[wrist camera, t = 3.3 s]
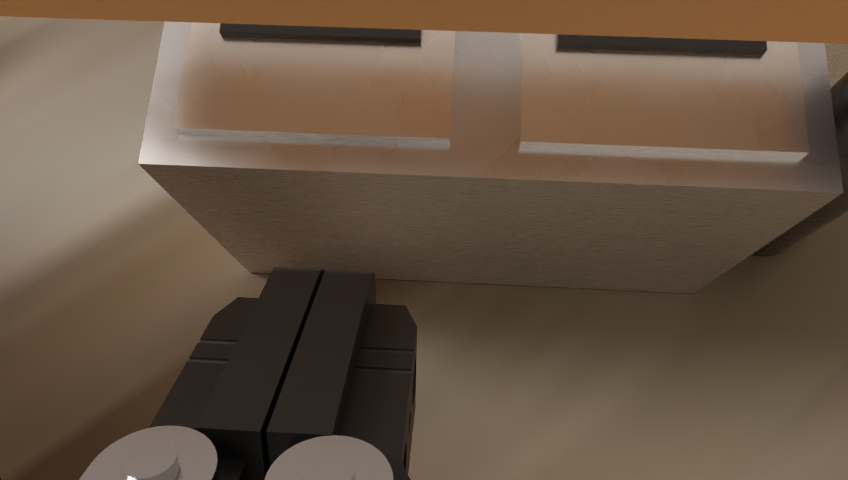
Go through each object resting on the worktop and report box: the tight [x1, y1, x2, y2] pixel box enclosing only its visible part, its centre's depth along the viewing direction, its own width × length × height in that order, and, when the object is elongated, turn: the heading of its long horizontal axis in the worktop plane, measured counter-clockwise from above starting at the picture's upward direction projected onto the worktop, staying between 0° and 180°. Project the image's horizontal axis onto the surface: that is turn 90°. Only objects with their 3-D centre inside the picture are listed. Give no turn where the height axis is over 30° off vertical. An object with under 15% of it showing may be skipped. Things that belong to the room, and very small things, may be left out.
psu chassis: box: [138, 21, 848, 293], centre depth 21 cm, size 20×6×12 cm, turn 87°
